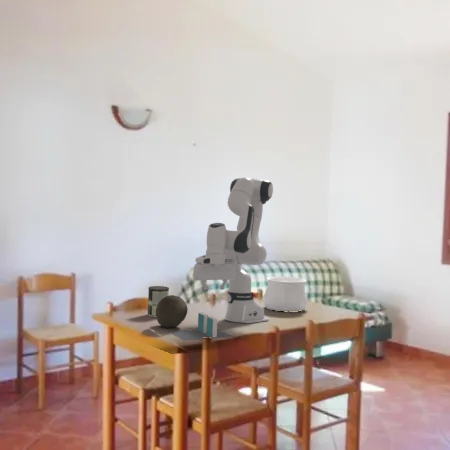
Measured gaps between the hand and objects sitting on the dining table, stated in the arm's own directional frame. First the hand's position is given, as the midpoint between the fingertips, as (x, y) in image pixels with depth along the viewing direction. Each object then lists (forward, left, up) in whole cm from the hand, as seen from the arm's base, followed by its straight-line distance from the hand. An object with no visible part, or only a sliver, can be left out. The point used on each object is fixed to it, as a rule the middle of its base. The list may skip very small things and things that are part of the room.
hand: (214, 289), depth 286 cm
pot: (-65, -40, -20) cm, 79 cm away
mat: (+8, +5, -19) cm, 21 cm away
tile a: (+5, 0, -19) cm, 19 cm away
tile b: (+5, +9, -19) cm, 21 cm away
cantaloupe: (+15, -13, -20) cm, 28 cm away
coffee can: (+10, -42, -20) cm, 47 cm away
